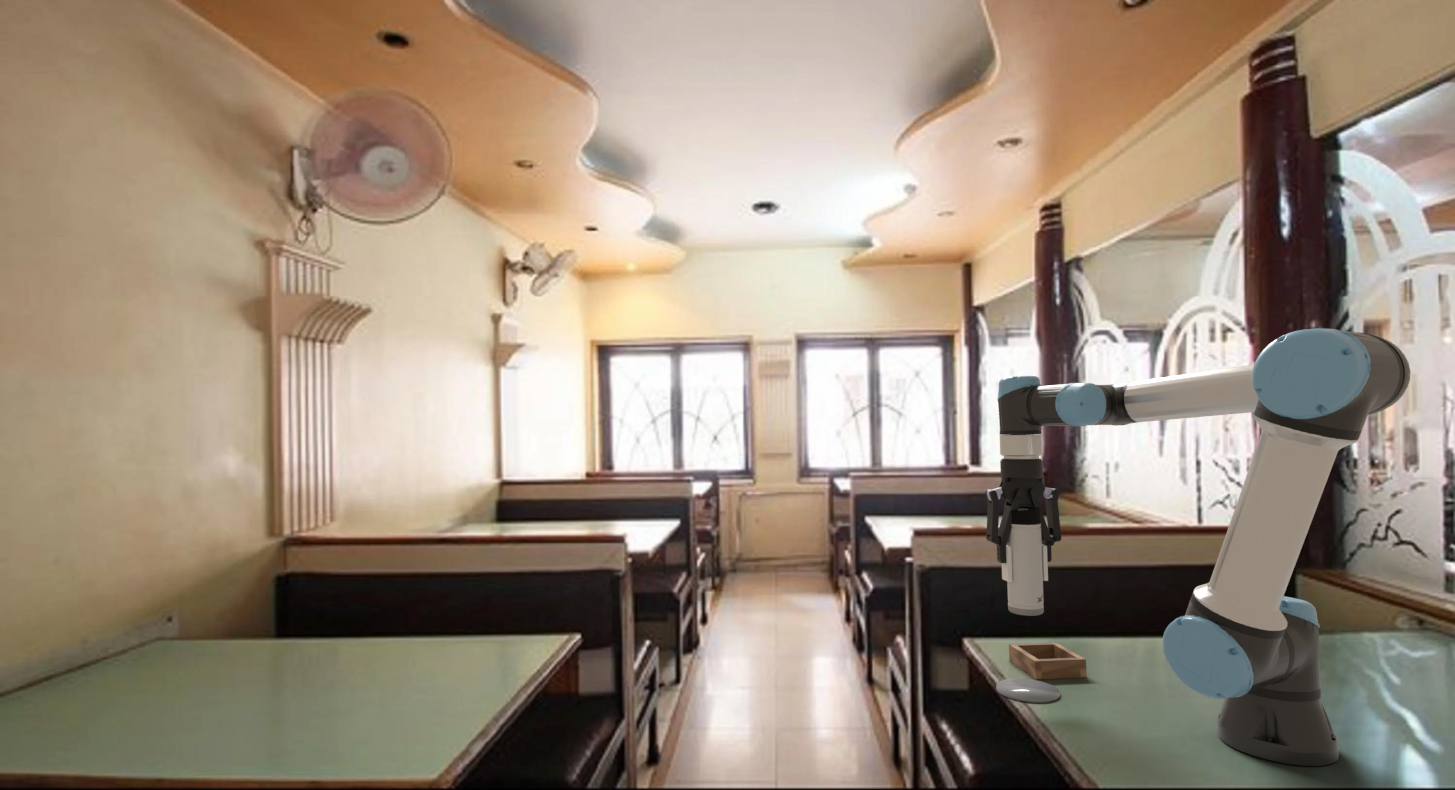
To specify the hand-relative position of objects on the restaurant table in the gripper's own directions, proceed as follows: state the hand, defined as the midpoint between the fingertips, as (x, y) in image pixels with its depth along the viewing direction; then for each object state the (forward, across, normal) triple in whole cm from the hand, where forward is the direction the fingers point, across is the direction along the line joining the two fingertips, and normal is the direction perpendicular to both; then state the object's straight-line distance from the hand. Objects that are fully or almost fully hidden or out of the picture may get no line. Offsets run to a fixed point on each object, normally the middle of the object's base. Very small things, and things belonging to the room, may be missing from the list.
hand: (1024, 579), depth 140 cm
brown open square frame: (+21, -10, -12) cm, 26 cm away
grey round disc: (+21, 0, 0) cm, 21 cm away
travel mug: (+6, 0, 0) cm, 6 cm away
